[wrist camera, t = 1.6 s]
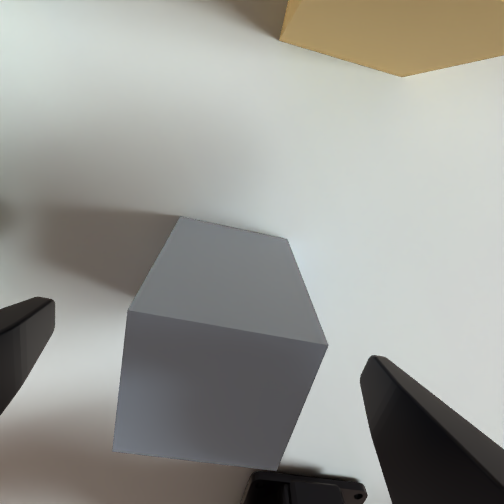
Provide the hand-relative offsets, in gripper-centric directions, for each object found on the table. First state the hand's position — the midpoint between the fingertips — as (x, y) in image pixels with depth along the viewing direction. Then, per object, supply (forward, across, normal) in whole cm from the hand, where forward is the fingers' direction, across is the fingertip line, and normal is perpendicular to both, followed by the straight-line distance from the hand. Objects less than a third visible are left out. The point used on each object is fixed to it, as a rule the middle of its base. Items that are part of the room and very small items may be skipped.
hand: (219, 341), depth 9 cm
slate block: (+4, 0, 0) cm, 4 cm away
